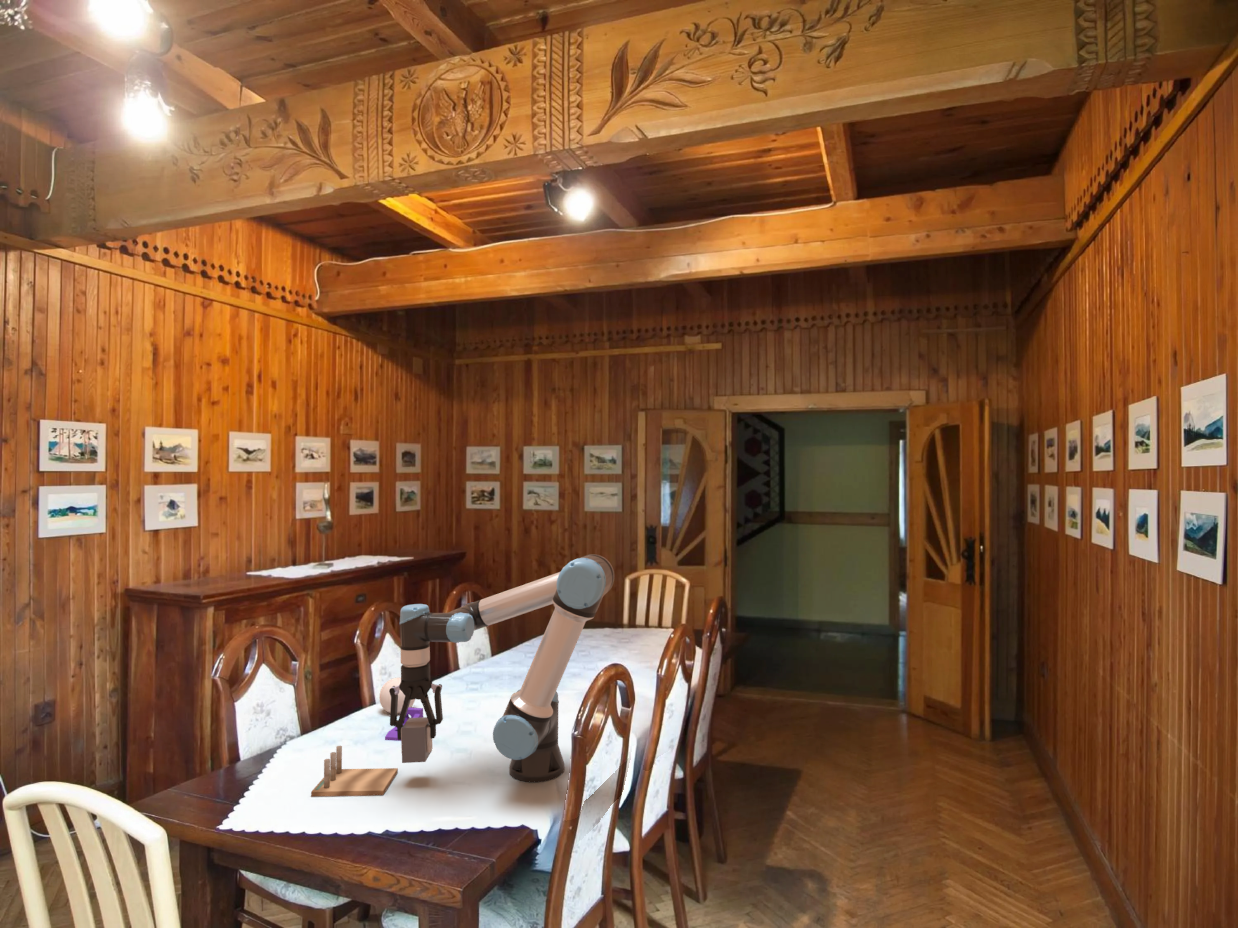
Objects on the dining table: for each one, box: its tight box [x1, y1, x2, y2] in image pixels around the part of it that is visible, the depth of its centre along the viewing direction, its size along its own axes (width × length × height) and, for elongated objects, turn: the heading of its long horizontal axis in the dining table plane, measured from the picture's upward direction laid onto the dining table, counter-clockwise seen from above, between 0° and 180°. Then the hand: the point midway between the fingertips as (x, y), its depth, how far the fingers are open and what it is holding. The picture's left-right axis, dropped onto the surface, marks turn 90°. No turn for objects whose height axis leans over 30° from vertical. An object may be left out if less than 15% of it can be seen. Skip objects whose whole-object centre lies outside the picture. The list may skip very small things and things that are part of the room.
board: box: [310, 745, 399, 798], centre depth 189 cm, size 18×14×8 cm
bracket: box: [384, 707, 424, 742], centre depth 226 cm, size 12×7×7 cm, turn 170°
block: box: [401, 716, 433, 764], centre depth 191 cm, size 6×8×9 cm
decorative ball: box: [379, 677, 416, 715], centre depth 246 cm, size 12×12×12 cm
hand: (417, 750), depth 191 cm, fingers closed on block, 6 cm apart
